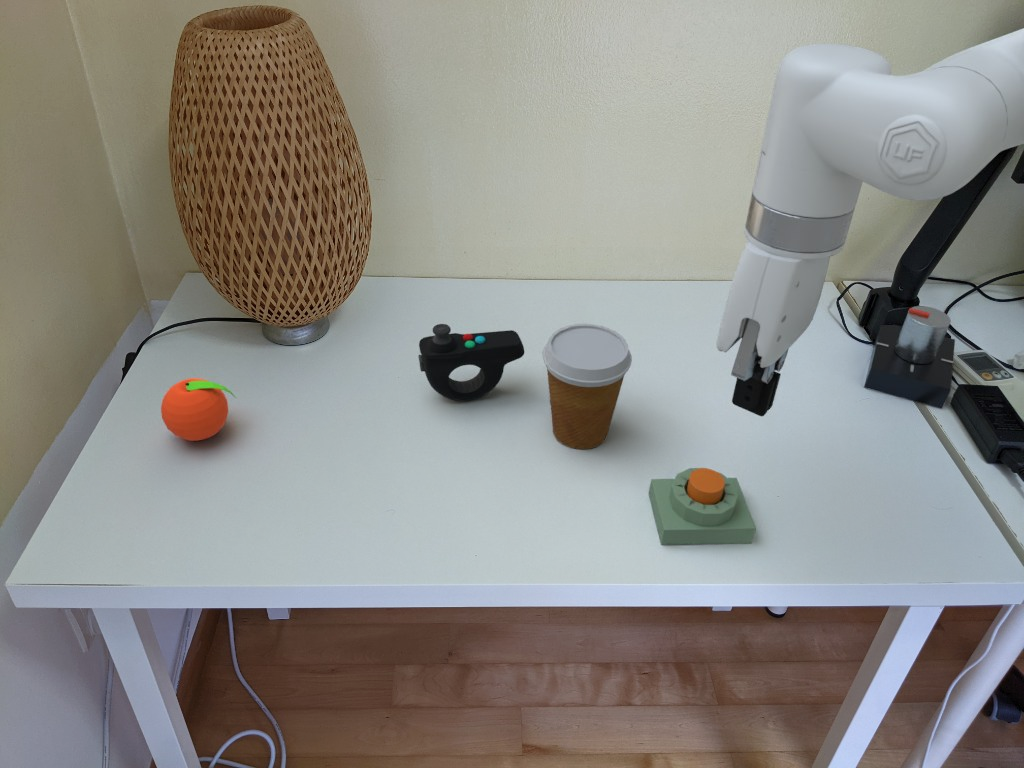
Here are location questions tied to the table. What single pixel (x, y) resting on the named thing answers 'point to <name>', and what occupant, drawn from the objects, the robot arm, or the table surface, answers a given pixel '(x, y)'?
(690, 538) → the box
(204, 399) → the clementine
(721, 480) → the button
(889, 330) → the dial panel
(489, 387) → the controller
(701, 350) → the table surface
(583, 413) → the disposable coffee cup
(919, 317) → the dial
